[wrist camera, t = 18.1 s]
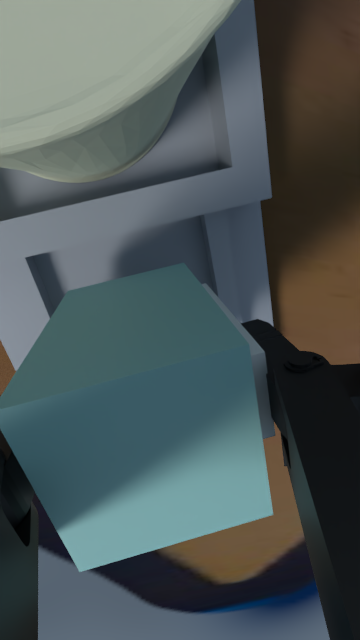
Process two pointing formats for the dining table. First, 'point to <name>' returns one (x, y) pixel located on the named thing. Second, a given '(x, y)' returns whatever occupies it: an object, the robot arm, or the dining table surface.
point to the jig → (152, 203)
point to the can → (94, 79)
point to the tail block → (138, 418)
